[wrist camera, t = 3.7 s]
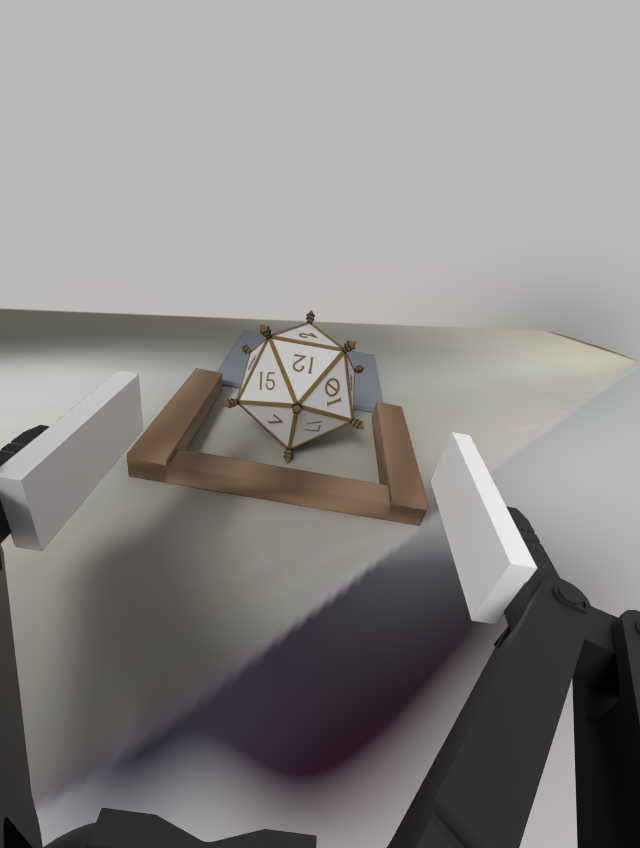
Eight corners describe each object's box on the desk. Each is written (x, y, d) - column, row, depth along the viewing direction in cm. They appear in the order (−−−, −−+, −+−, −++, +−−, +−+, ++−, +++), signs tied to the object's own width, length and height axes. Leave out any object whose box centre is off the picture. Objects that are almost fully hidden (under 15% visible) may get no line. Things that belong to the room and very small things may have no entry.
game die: (275, 460, 30) (295, 336, 31) (377, 477, 25) (397, 332, 26) (183, 448, 22) (214, 284, 23) (306, 468, 18) (337, 265, 19)
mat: (212, 382, 31) (212, 378, 31) (244, 334, 41) (245, 330, 41) (382, 414, 31) (384, 410, 31) (372, 358, 42) (373, 355, 41)
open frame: (129, 476, 20) (126, 454, 20) (195, 385, 30) (196, 368, 29) (419, 525, 21) (428, 506, 21) (396, 422, 31) (401, 406, 30)
